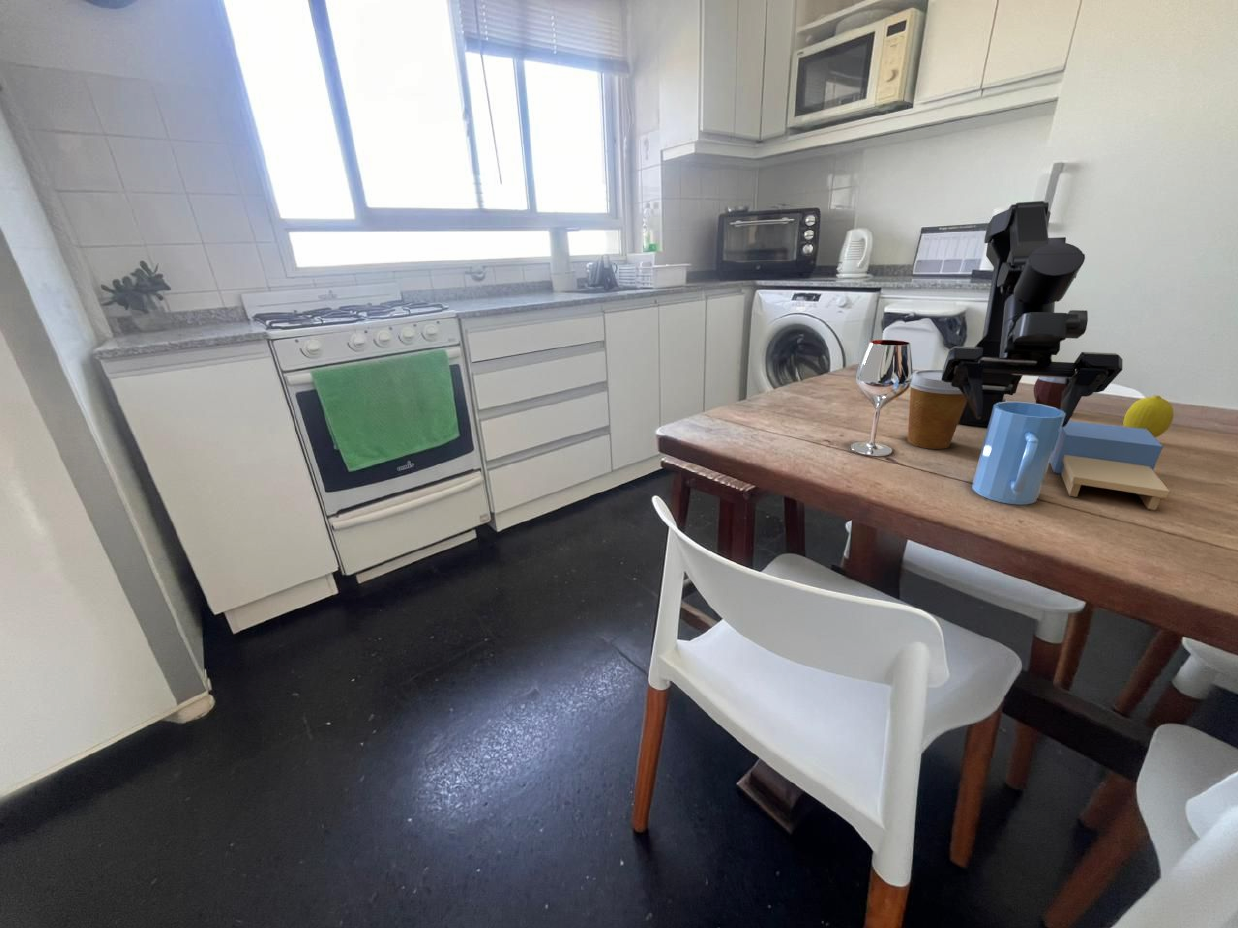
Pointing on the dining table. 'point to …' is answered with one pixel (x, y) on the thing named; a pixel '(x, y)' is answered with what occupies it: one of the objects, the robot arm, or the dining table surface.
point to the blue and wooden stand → (1109, 460)
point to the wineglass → (882, 383)
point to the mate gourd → (1049, 391)
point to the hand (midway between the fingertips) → (1019, 421)
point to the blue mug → (1017, 451)
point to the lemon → (1150, 415)
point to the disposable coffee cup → (933, 410)
